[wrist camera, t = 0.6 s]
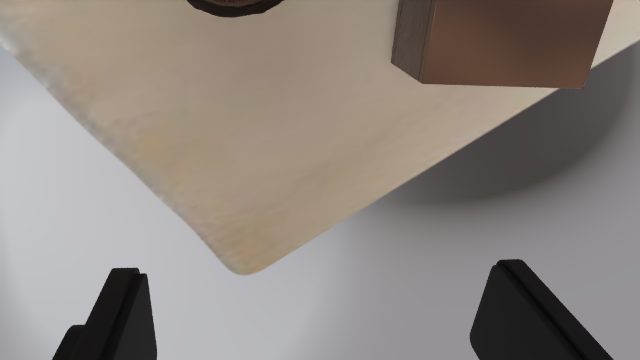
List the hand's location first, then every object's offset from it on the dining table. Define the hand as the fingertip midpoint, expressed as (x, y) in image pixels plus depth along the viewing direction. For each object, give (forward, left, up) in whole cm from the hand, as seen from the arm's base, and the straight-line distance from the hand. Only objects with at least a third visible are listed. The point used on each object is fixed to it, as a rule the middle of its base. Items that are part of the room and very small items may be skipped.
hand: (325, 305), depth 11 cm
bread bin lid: (-7, +17, -22) cm, 29 cm away
